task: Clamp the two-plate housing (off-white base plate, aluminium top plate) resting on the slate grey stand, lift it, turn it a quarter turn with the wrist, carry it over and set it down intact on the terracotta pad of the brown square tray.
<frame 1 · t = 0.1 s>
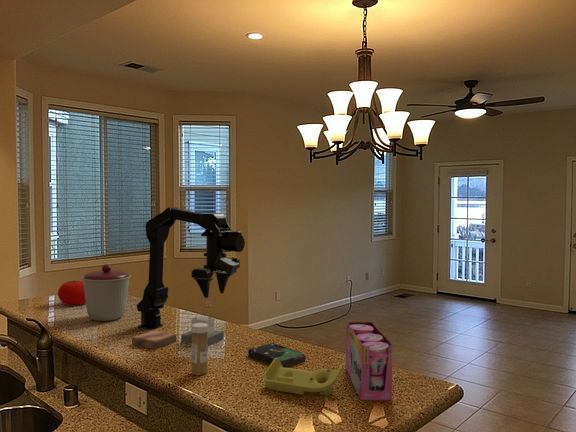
hand: (214, 295, 170), 14 cm above the worktop, tool pointing down, fingers open, 9 cm apart
gum box: (366, 384, 132), on the worktop
canister: (106, 318, 195), on the worktop
tomato: (75, 304, 218), on the worktop
sprinkles bottle: (199, 373, 137), on the worktop
slate stand: (202, 340, 167), on the worktop
disk drive: (276, 360, 150), on the worktop
plastic component: (303, 391, 127), on the worktop
two-plate housing: (202, 333, 167), point 2 cm above the worktop, touching slate stand
brown square tray: (154, 343, 163), on the worktop
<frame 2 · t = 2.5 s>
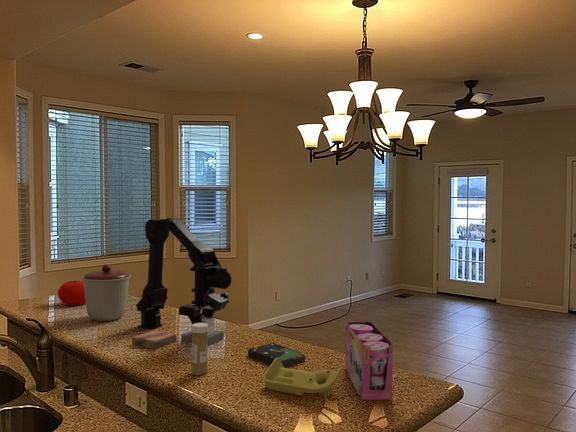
hand: (202, 331, 167), 3 cm above the worktop, tool pointing down, fingers closed on two-plate housing, 4 cm apart
two-plate housing: (202, 333, 167), point 2 cm above the worktop, touching gripper, slate stand
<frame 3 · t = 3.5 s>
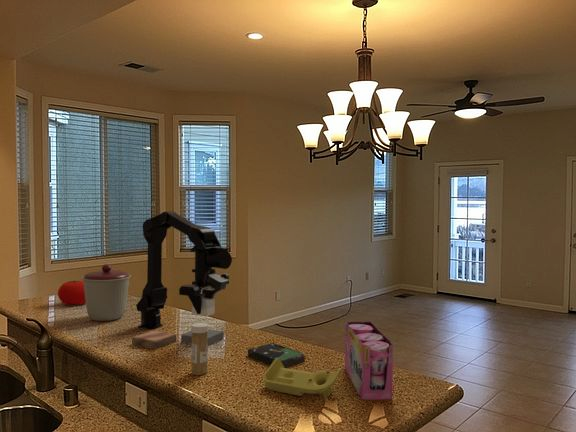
hand: (203, 312, 167), 10 cm above the worktop, tool pointing down, fingers closed on two-plate housing, 4 cm apart
two-plate housing: (203, 314, 167), point 9 cm above the worktop, touching gripper
everything else where it was.
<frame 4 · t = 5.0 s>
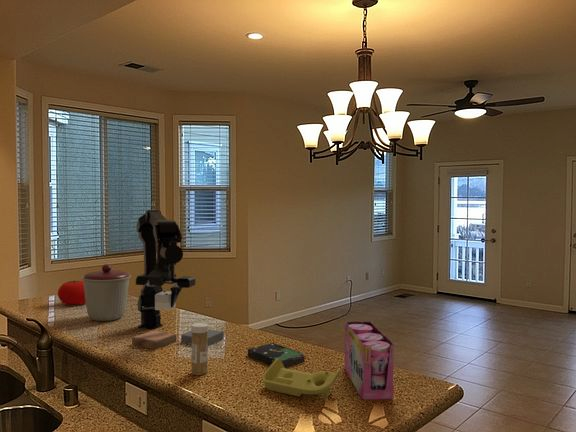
hand: (165, 306, 164), 12 cm above the worktop, tool pointing down, fingers closed on two-plate housing, 4 cm apart
two-plate housing: (165, 308, 164), point 11 cm above the worktop, touching gripper
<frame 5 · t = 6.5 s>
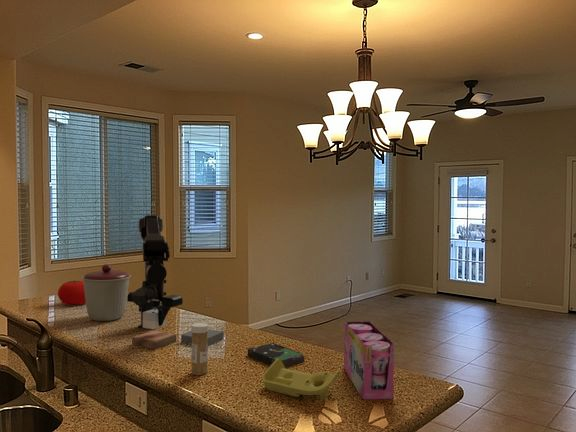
hand: (154, 324, 163), 6 cm above the worktop, tool pointing down, fingers closed on two-plate housing, 4 cm apart
two-plate housing: (154, 326, 163), point 6 cm above the worktop, touching gripper
when the fingers open (4 cm above the worktop, at t = 7.6 s): two-plate housing drops 1 cm, resting on brown square tray.
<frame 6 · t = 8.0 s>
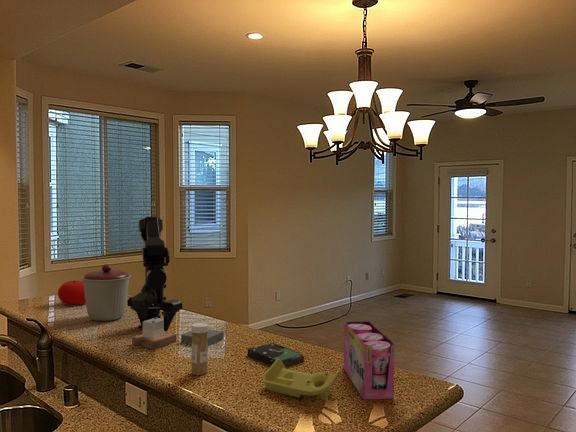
hand: (154, 329, 163), 4 cm above the worktop, tool pointing down, fingers open, 9 cm apart
two-plate housing: (154, 335, 163), point 2 cm above the worktop, touching brown square tray
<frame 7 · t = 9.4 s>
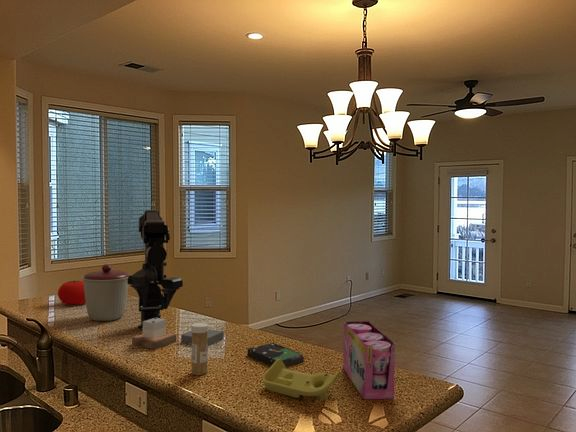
hand: (154, 307, 163), 12 cm above the worktop, tool pointing down, fingers open, 9 cm apart
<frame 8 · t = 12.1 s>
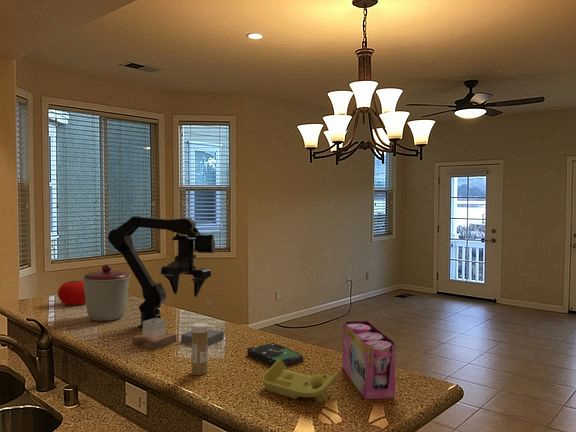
hand: (185, 295, 182), 12 cm above the worktop, tool pointing down, fingers open, 9 cm apart
at the end: two-plate housing 0.0 cm off-centre on the brown square tray, point 2.5 cm above the brown square tray's base; two-plate housing tilted 0°; the gripper is holding nothing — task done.
